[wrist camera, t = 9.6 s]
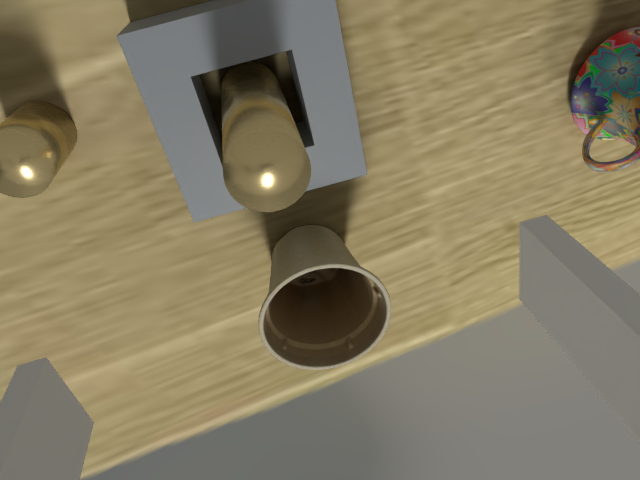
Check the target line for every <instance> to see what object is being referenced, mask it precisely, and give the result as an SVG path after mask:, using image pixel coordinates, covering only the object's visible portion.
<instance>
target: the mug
mask: <svg viewBox="0 0 640 480" xmlns="http://www.w3.org/2000/svg"><path fill="white" fill-rule="evenodd" d="M571 112H572V116H573V119H574V121H575V123H576V125H577V126H578V127H579V129H580V130H581V131H582V132H583V133H585V134H586V137H585V140H584V143H583V147H582V154H583V159H584V162H585V164H586V165H587V166H588V167H589V168H590V169H592V170H594V171H597V172H614V171H618V170H622V169H624V168H627V167H629V166H631V165H632V164H634V163H635V162H636V161H638V160H639V158H640V27H633V28H629V29H626V30H623V31H621V32H619V33H616V34H615V35H613V36H611V37H610V38H608V39H607V40H605V41H604V42H603V43H602V44H600V45H599V46H598V47H597V48H596V49H595V50H594V51H593V52H592V53H591V55H590V56H589V57H588V58H587V60H586V61H585V62H584V64H583V65H582V67H581V69H580V71H579V73H578V75H577V77H576V79H575V82H574V85H573V89H572V94H571ZM594 138H595V139H600V140H613V139H620V140H624V141H626V142H629V143H631V144H633V145H635V146H636V148H635V150H634V151H633V152H632V153H631V154H629V155H628V156H626V157H624V158H622V159H619V160H616V161H611V162H598V161H595V160H593V159H592V158H591V157H590V155H589V149H590V146H591V144H592V142H593V140H594Z"/></svg>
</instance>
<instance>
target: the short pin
mask: <svg viewBox="0 0 640 480" xmlns="http://www.w3.org/2000/svg"><path fill="white" fill-rule="evenodd" d="M76 142H77V130H76V127H75V124H74V122H73V121H72V119H71V118H70V116H69V115H68V114H67V113H66V112H65V111H63V110H62V109H61V108H59V107H57V106H55V105H53V104H50V103H47V102H41V101H35V102H29V103H26V104H24V105H22V106H21V107H19V108H18V109H17V110H16V111H15V112H13V113H12V114H11V115H10V116H9V117H8V118H7V119H5V120H4V121H3V122H2V123H1V124H0V193H2V194H5V195H8V196H12V197H19V198H25V197H31V196H35V195H37V194H39V193H41V192H43V191H44V190H45V189H46V188H47V187H48V186H49V184H50V183H51V181H52V180H53V178H54V177H55V175H56V174H57V172H58V171H59V169H60V168H61V166H62V165H63V163H64V162H65V161H66V159H67V158H68V156H69V155H70V153H71V152H72V150H73V149H74V147H75V145H76Z"/></svg>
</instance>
